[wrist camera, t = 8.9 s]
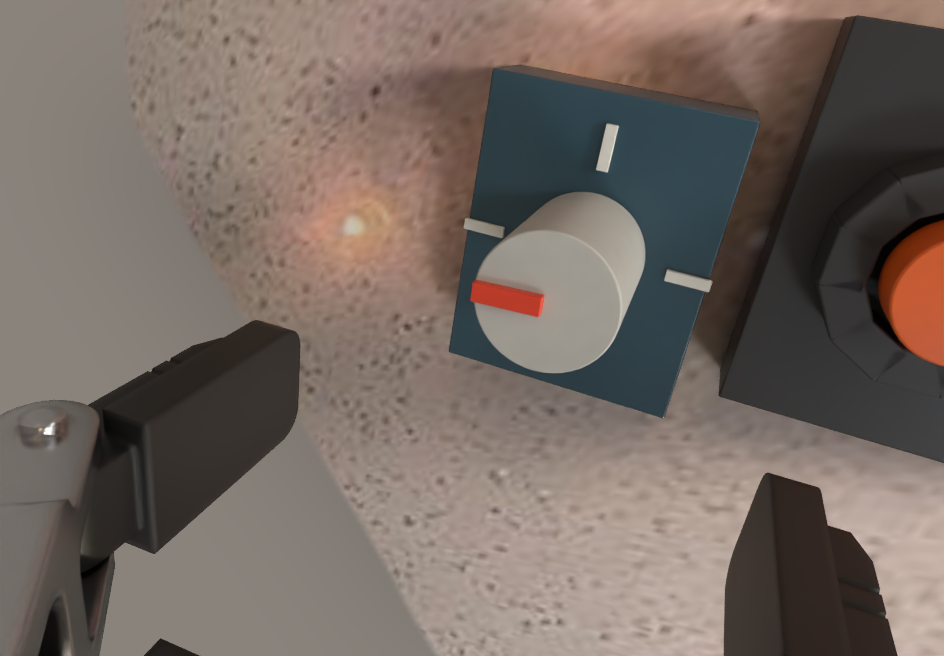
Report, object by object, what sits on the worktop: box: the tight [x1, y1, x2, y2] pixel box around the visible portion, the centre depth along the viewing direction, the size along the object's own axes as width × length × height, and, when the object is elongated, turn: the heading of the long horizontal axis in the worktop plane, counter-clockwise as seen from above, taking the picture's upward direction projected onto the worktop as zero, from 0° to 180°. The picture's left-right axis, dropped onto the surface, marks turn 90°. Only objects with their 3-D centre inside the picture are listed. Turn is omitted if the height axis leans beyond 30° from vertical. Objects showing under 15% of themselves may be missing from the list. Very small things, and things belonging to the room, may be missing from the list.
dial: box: [470, 192, 645, 373], centre depth 20 cm, size 4×4×5 cm
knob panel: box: [449, 65, 760, 418], centre depth 24 cm, size 10×8×3 cm
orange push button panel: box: [719, 15, 944, 463], centre depth 20 cm, size 12×9×4 cm
